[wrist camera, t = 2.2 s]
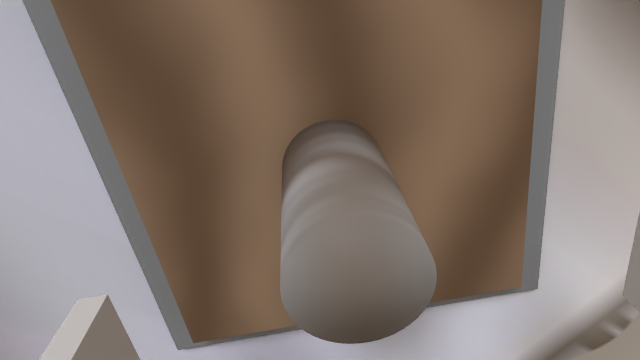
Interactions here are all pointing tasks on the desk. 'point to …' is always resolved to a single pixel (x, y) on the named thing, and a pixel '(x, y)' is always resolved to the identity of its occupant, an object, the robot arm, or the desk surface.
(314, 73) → the lid
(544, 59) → the mat
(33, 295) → the desk surface
